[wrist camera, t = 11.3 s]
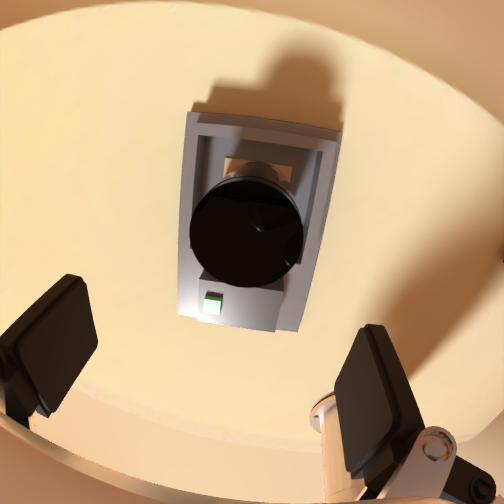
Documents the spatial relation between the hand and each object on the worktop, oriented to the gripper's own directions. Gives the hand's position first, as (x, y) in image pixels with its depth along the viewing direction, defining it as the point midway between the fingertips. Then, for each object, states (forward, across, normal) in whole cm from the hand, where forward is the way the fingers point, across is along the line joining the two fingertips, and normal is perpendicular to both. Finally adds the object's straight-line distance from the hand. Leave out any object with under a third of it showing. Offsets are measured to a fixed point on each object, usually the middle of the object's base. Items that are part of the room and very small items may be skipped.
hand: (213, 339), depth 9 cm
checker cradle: (+20, 0, +4) cm, 21 cm away
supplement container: (+19, 0, 0) cm, 19 cm away
